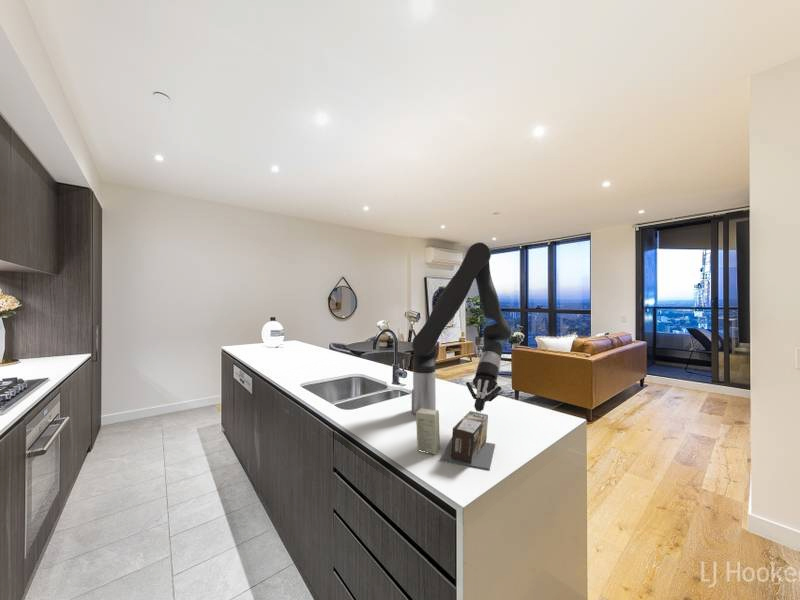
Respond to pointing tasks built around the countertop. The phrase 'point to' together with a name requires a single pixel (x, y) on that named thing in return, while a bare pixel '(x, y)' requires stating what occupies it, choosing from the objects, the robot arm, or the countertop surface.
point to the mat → (480, 460)
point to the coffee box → (469, 436)
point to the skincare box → (428, 430)
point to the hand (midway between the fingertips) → (478, 410)
